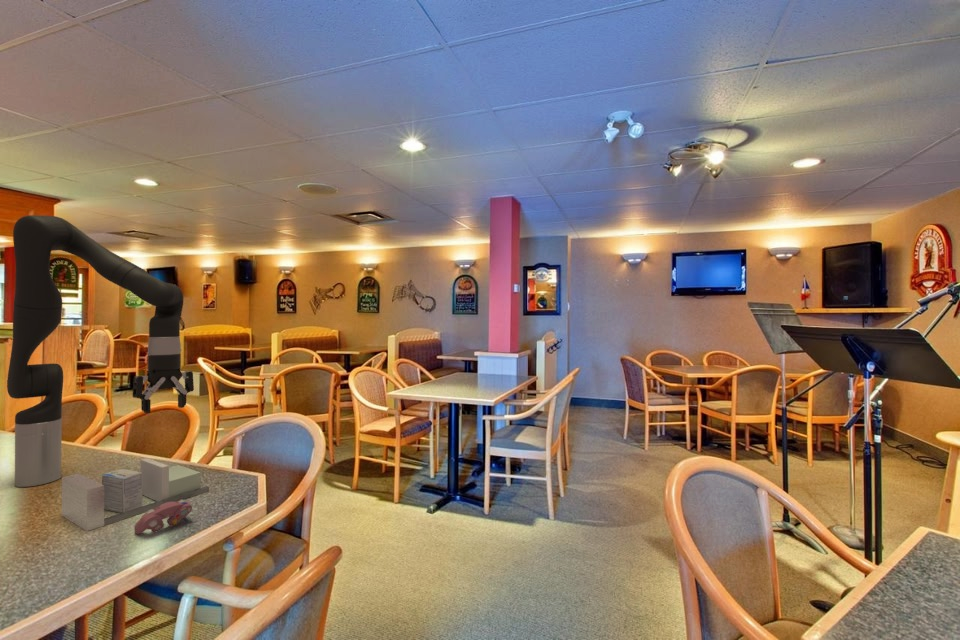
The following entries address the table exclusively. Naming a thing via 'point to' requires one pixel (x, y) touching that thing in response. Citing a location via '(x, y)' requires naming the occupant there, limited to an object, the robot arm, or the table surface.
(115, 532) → the table surface
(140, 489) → the medicine box
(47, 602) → the table surface
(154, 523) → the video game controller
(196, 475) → the sliding jaw
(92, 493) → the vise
